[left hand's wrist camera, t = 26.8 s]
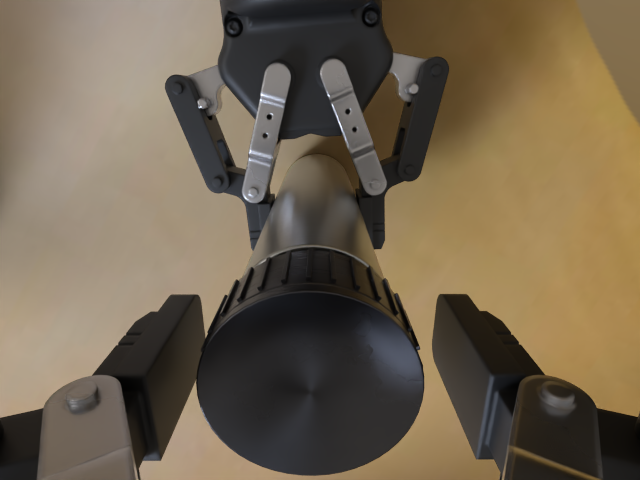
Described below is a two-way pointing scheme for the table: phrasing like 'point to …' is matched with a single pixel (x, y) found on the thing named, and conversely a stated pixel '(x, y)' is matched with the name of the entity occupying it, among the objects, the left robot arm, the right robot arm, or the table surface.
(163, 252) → the table surface
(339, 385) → the lid
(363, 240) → the metal thermos bottle
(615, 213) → the table surface
